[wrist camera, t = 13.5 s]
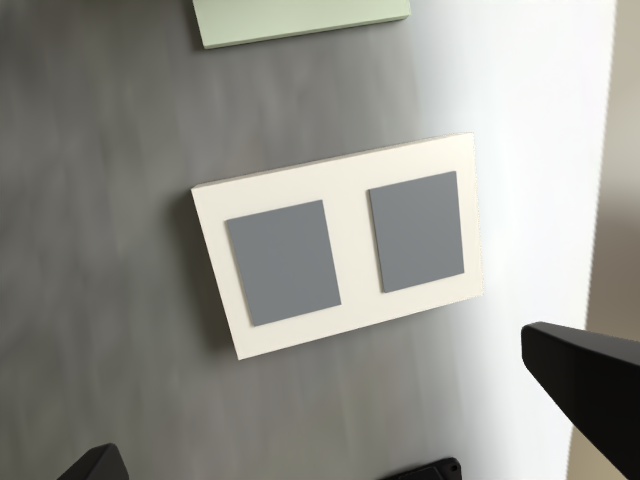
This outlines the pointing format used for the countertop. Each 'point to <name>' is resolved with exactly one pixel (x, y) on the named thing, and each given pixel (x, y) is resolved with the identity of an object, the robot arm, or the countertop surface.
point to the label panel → (343, 241)
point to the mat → (287, 17)
